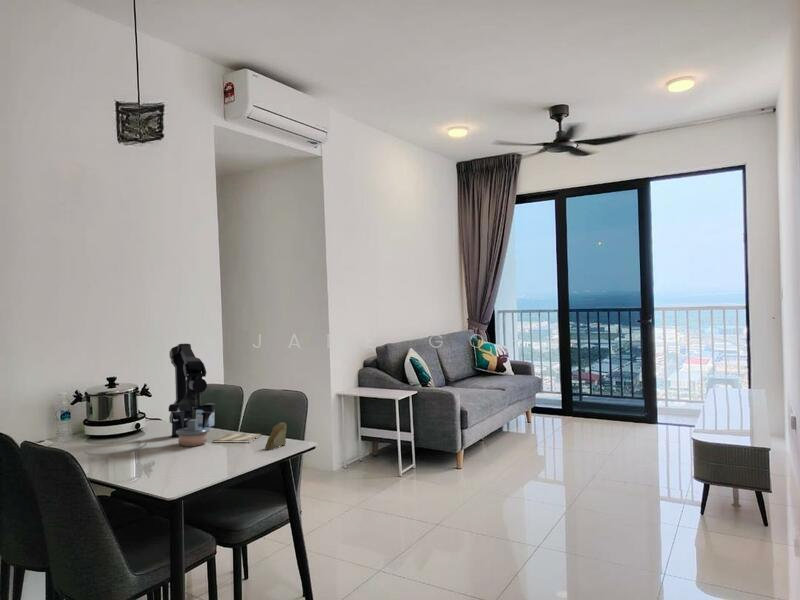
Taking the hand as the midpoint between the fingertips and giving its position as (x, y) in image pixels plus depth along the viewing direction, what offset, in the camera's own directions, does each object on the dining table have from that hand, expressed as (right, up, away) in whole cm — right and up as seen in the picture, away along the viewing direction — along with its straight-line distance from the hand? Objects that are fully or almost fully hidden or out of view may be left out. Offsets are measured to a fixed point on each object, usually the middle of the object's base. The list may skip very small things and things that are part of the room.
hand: (192, 428), depth 223 cm
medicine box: (-10, -9, +43) cm, 45 cm away
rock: (+36, -6, -6) cm, 37 cm away
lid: (0, -2, 0) cm, 2 cm away
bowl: (0, -7, 0) cm, 7 cm away
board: (+16, -7, +9) cm, 20 cm away
